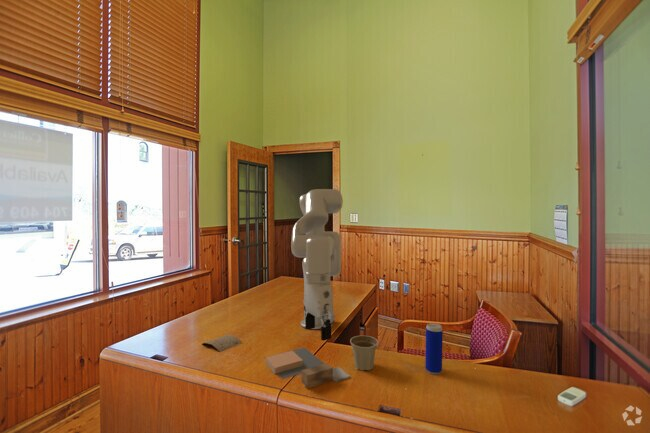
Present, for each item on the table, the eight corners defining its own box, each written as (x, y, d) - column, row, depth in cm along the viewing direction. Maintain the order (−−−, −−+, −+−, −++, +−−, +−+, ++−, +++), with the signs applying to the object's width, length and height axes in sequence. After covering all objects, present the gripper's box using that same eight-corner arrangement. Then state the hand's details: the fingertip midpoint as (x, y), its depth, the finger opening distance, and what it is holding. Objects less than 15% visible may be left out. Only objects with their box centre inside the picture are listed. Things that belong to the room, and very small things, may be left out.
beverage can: (441, 368, 105) (442, 323, 104) (442, 376, 100) (442, 329, 99) (425, 365, 106) (426, 321, 106) (425, 373, 101) (425, 327, 101)
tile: (292, 350, 111) (302, 360, 105) (292, 356, 112) (302, 365, 105) (265, 357, 106) (274, 367, 99) (265, 363, 106) (274, 374, 100)
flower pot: (346, 370, 103) (346, 344, 103) (353, 357, 112) (354, 333, 111) (374, 376, 100) (375, 349, 99) (380, 362, 108) (380, 337, 108)
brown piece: (338, 368, 104) (338, 356, 104) (349, 377, 99) (349, 365, 99) (299, 381, 97) (299, 368, 97) (309, 391, 91) (309, 378, 91)
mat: (304, 348, 119) (304, 347, 119) (326, 366, 105) (326, 365, 105) (264, 358, 110) (264, 357, 110) (282, 380, 97) (282, 379, 97)
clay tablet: (244, 346, 121) (244, 339, 121) (222, 356, 113) (222, 349, 113) (222, 337, 130) (222, 330, 130) (199, 345, 122) (199, 338, 122)
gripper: (344, 282, 90) (344, 341, 90) (314, 271, 104) (314, 322, 105) (322, 285, 86) (321, 347, 86) (294, 274, 101) (294, 326, 101)
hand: (317, 333), depth 95 cm, fingers open, 9 cm apart
